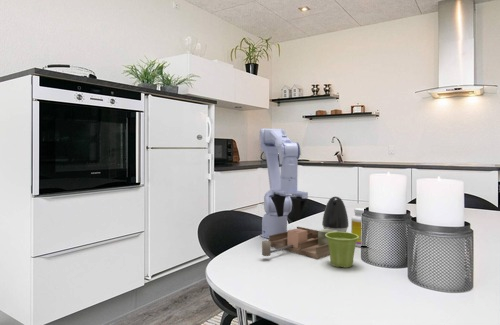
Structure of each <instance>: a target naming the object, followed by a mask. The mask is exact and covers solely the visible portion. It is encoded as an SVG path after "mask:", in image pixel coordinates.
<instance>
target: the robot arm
mask: <svg viewBox="0 0 500 325" xmlns="http://www.w3.org/2000/svg"><path fill="white" fill-rule="evenodd" d="M259 147H260V150H261V151H262V152H263V153H264V154H265V155H264V156H265V158H266V159H265V160H266V166H267V174H268V182H269V190H267V191H266V193H265V194H264V196H263V200H264V201H263V207H264V208H263V209H264V212H265V214H263V216H262V218H261V219H262V220H261V235H260V237H262V238H266V239H269V236H270V235H275V234H279V233H283V232H287V231H288V216H289V214H290V213H291V212H292V208H293V210H294V212H293V215H294V220H301V217H302V213H303V210H304V207H305V206H306V203H307V202H308V198H309V196H308V195H309V192H308V191H301V190H298V168H299V166H298V164H299V163H298V160H299V159H300V156H301V146H300V143H299V142H297V141H296V142H293V141H292V140H291V139H290V138H289V137H288V135H287V134H286V131H285V129H284V128H264V127H263V128H261V129H260V131H259Z"/></svg>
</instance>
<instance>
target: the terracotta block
mask: <svg viewBox="0 0 500 325" xmlns="http://www.w3.org/2000/svg"><path fill="white" fill-rule="evenodd" d="M287 231H288V242H287V246H286V247H282V248H275V249H273V250H271V249H272V247H271V242H270V241H269V240H262V242H261V256H263V257H269V256H271V255H272V253H273V254H274V253H276V252H279V251H284V250H283V249H287V248H290V247H295V248H299V243H302V242H305V241H307V230H302V229H297V228H293V229H289V230H287Z"/></svg>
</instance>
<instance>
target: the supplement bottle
mask: <svg viewBox="0 0 500 325" xmlns="http://www.w3.org/2000/svg"><path fill="white" fill-rule="evenodd" d="M364 209H365V208H363V207H358V208H357V207H356V208H354V215H352V217H351V222H350V223H351V227H350V228H351V230H350V233H353V234H356V235H358V236H359V238H358V239H357V243H356V245H355V247H359V248H362V247H361V229H362V228H361V215H362V213H363V212H364Z"/></svg>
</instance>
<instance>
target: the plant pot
mask: <svg viewBox="0 0 500 325" xmlns="http://www.w3.org/2000/svg"><path fill="white" fill-rule="evenodd" d="M325 236H326V237H327V241H328V245H329V252H330V255H329V258H330V264H331V266H334V267H335V268H339V267H341V268H345V269H346V268H350V267H352V266H353V264H354V256H355V252H356V250H355V249H356V246H355V245H356V243H357V239H358V238H359V236H358V235H356V234H353V233H351V232H347V231H346V232H329V233H326V234H325Z"/></svg>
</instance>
